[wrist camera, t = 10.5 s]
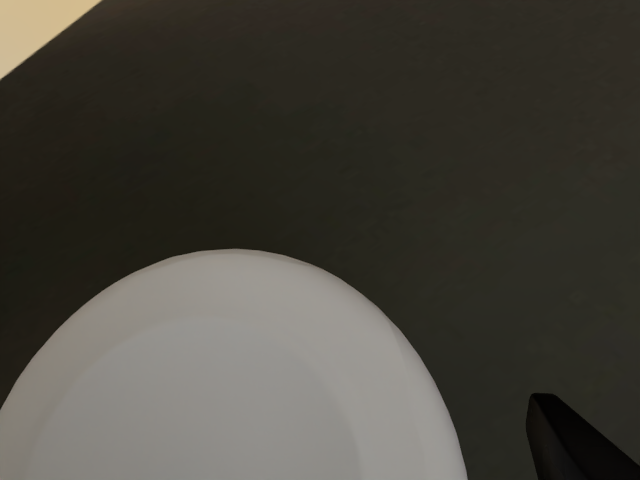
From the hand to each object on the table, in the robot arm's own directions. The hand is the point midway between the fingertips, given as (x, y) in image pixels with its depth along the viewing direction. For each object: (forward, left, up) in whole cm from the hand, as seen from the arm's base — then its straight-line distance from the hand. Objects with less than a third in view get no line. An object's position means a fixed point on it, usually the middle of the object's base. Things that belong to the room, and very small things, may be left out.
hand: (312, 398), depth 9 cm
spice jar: (-1, 0, -8) cm, 8 cm away
